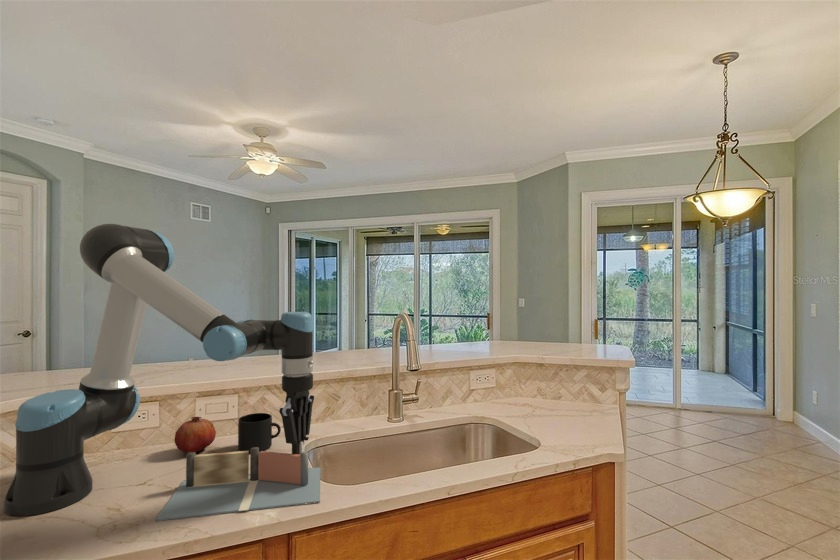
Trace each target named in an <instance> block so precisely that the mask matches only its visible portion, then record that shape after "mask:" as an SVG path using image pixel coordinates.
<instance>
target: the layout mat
mask: <svg viewBox="0 0 840 560" xmlns="http://www.w3.org/2000/svg"><path fill="white" fill-rule="evenodd" d="M314 502H320V503H321V466H319V467H318V466H317V467H308V484H306V485H301V484H294V483H285V482H275V481H266V480H259V479H258V480H256V481H251V480H250V473H249V479H248V481H239V482H229V483H218V484H208V485H198V486H192V487H186V479H184V480H182V482H181V483H180V485H179V486H178V487H177V489H176V490H175V492H174V493H173V495H172V496H171V497H170V499H169V500H168V501H167V503H166V505H165V506H164V507H163V508H162V510H161V511H160V513H159V514H158V515H157V517H156V519H155V522H160V521H169V520H176V519H185V518H194V517H204V516H213V515H221V514H230V513H231V514H232V513H238V512H239V513H240V512H241V513H242V512H247V511H259V510H265V509H266V510H268V509H276V508H283V506H286V507H290V506H289V505H295V506H297V505H296V504H304V505H306V504H305V503H313V504H315V503H314Z"/></svg>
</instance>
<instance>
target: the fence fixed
mask: <svg viewBox="0 0 840 560" xmlns="http://www.w3.org/2000/svg"><path fill="white" fill-rule="evenodd" d="M249 455H250V456H249ZM249 457H250V458H249ZM185 458H186V459H185V461H186V464H185V465H186V466H185V467H186V468H185V473H186V474H185V477H186V478H185V480H186V487H192V486H198V485H208V484H218V483H229V482H239V481H248V479H249V474H250V480H251V481H256V480H258V479H259V447H253V448H251V449H250V453H249V451H239V450H237V451H228V452H217V453H214V452H213V453H205V454H197V452H186V457H185ZM249 459H250V460H249ZM249 461H250V463H249ZM249 465H250V467H249ZM249 470H250V471H249Z"/></svg>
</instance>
